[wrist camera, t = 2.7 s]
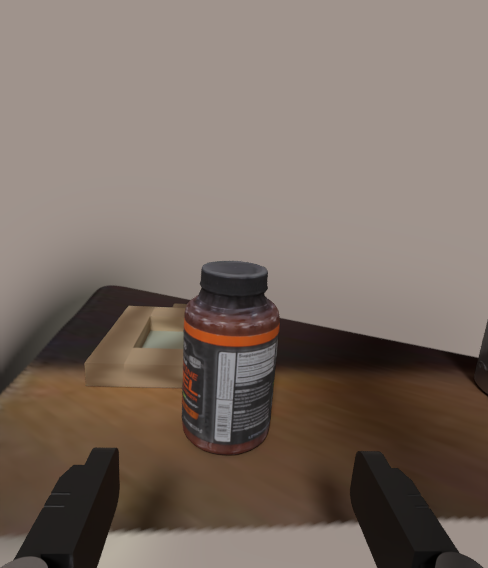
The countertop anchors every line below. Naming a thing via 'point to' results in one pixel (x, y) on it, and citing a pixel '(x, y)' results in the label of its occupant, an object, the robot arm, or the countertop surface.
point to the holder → (140, 350)
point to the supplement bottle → (229, 359)
